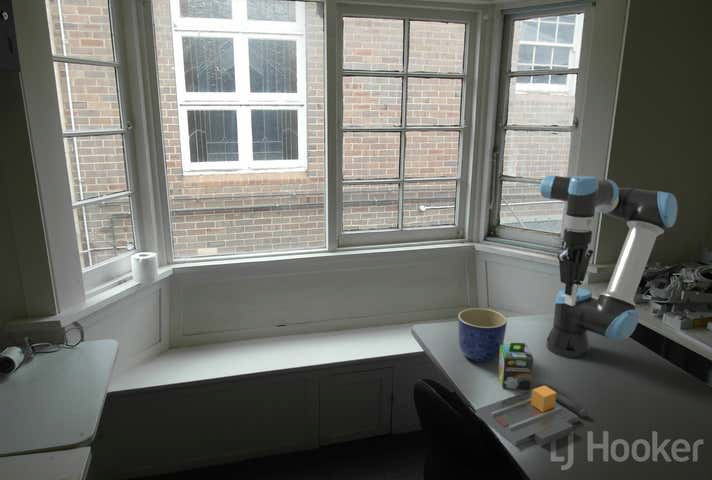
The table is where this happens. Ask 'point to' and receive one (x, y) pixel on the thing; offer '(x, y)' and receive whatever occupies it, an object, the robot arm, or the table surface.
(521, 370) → the chalk box
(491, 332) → the planter
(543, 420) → the breaker panel
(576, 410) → the dark grey rod
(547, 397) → the block
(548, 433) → the grey bar
